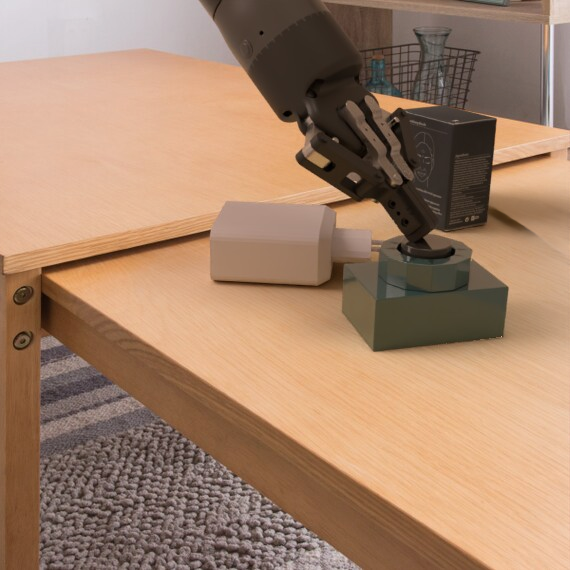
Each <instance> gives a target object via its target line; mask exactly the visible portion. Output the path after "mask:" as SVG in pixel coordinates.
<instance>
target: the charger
mask: <svg viewBox="0 0 570 570" xmlns="http://www.w3.org/2000/svg"><path fill="white" fill-rule="evenodd" d="M385 240H386V239H373V229H367V228H366V229H365V228H347V227H346V228H345V227H344V228H343V227H337V211H336V210H334V209H333V208H331V207H330V206H328V205H327V204H308V203H307V204H306V203H305V204H303V203H283V202H263V201H262V202H261V201H243V200H242V201H241V200H240V201H239V200H236V201H235V200H226V201H225V202H224V204H223V206H222V207H221V209H220V211H219V213H218V215H217V216H216V218H215V220H214V221H213V223H212V225H211V229H210V233H209V276H210V280H212V281H222V282H223V281H224V282H242V283H257V284H258V283H260V284H261V283H262V284H281V285H297V286H298V285H299V286H315V287H318V286H320V285H322V284H324V283H326V282H328V281H330V280H331V277H332V271H333V265H334V263H339V264H352V263H364V262H371V261H372V260H371V259H372V253H373V252H374V253H379V249H380V247H381V245H382V243H383V241H385Z"/></svg>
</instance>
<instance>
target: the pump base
mask: <svg viewBox="0 0 570 570" xmlns="http://www.w3.org/2000/svg"><path fill="white" fill-rule="evenodd" d="M403 237H405V236H404V234H402V235H401V234H400V235H397V236H393V237H391V238H388V239H384V240H385V241H383V243H382V245H380V246H379V247H380V249H379V252H378V260H377V261H370V262H364V263H343V272H342V296H341V298H342V299H341V314H342V315H343V316H344V317H345V319H347V321H348V322H349V324H350V325H351V326H352V327H353V328H354V329H355V331H356V332H357V333H358V335H359V336H360V337H361V338H362V340H363V341H364V342H365V344H366V345H367V346H368V347H369V348H370V350H371V351H372V353H373V352H375V353H376V352H384V351H385V352H386V351H393V350H403V349H411V348H420V347H429V346H430V347H431V346H438V344H439V345H446V343H447V345H448V344H456V343H455V342H458V343H465V342H464V341H467V342H474V341H473V340H476V341H481V340H480V339H485V340H490V339H489V338H494V339H497V338H496V337H501V336H502V337H503V338H504V335H505V334H504V333H505V326H506V317H507V308H508V307H507V306H508V299H509V290H510V287H509V286H508V285H507V284H506V283H504V282H503V281H502V280H501V279H499V278H498V277H497V276H496V275H494V274H493V273H491V272H490V271H489V270H487V268H485V267H484V266H483V265H481V264H480V263H479V262H477V261H476V260H475V259H473V251H474V250H473V249H472V248H471V247H469V246H468V245H466V244H465V243H464V242H462V241H460V240H456V239H453V238H450V237H446V236H444V237H445V238H447V239H449V240H450V241H451V242H452V250H451V257H448V258H445V259H433V260H428V259H418V258H413V257H410V256H406V255H403V254H401V253H400V252H401V240H402V238H403ZM462 341H463V342H462Z"/></svg>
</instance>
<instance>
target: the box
mask: <svg viewBox="0 0 570 570" xmlns="http://www.w3.org/2000/svg"><path fill="white" fill-rule="evenodd" d="M403 109H404V110H405V111H406V112H407V114H408V116H409V120H410V124H411V128H412V132H413V137H414V141H415V145H416V150H417V154H418V158H419V162H420V167H419V168H417V169H416V170H415V171H414V172H413V175H414V178H413V179H412V180H411V181H412V183H413V185H414V186H415V188H416V189H417V190H418V192H419V193H420V195H421V196H422V197H423V199H424V200H425V201H426V203H427V204H428V206H429V207H430V208H431V210H432V211H433V212H434V214H435V215H436V217H437V218H438V220H439V225H438V226H437V227H436V228H435V229H438V230H441V231H443V232H450V231H456V230H457V231H458V230H462V229H468V228H472V227H477V226H481V225H486V224H487V222H488V216H489V205H490V194H491V185H492V184H491V183H492V175H493V172H492V171H493V165H494V155H495V144H496V134H497V122H498V118H497V117H494V116H488V115H485V114H481V113H477V112H473V111H468V110H464V109H461V108H457V107H452V106H448V105H443V104H442V105H431V106H422V107H413V108H403ZM402 158H403V156H402Z"/></svg>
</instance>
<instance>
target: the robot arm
mask: <svg viewBox="0 0 570 570" xmlns="http://www.w3.org/2000/svg"><path fill="white" fill-rule="evenodd" d="M198 2H199V3H200V4H201V6H202V7H203V9H204V10H205V11H206V13H207V14H208V15H209V17H210V18H211V20H212V21H213V22H214V24H215V26H216V27H217V29H218V31H219V32H220V34H221V36H222V38H223V40H224V42H225V44H226V46H227V47H228V49H229V51H230V52H231V54H232V55H233V56H234V58H235V59H236V60H237V62H238V64H239V65H240V66H241V68H242V69H243V70H244V72H245V73H246V75H247V76H248V78H249V79H250V80H251V82H252V83H253V84H254V86H255V87H256V88H257V90H258V92H259V93H260V95H261V96H262V97H263V99H264V100H265V101H266V103H267V104H268V105H269V107H270V108H271V110H272V111H273V112H274V114H275V115H276V117H277V118H278V119H279V120H280V121H281V122H283V123H285V124H286V123H287V124H293V123H296V124H297V128H298V130H299V132H300V133H301V134H302V135H303V136H304V145H303V146H302V147H301V149H300V150H299V151H298V152H296V154H295V156H294V158H295V161H296V163H297V164H298V165H300V166H301V167H302V168H303V169H305V170H307V171H308V172H310V173H311V174H313V175H314V176H316V177H318V178H319V179H321V180H322V181H324V182H326V183H327V184H329V185H330V186H331V187H332V188H333V187H334V188H335V189H336V190H338V191H339V192H341V193H343V194H344V195H346V196H348V198H350V199H352V200H354V201H355V202H358V203H361V202H362V201H364V200H365V199H369V200H370V201H371V202H373V203H374V204H377V205H379V204H380V205H381V206H382V207H383V209H384V210H385V212H386V213H387V214H388V216H389V217H390V218H391V220H392V221H393V223H394V224H395V226H396V227H397V228H398V230H399V231H400V232H401V233H402V235H404V236H405V237H406V238H407V240H408V241H409V242H416V241H418V240H419V239H421V238H423V237H425V236H426V235H427V234H431V232H432V231H434V230H435V229H437V228H436V227H437V226H438V225H439V220H438V218H437V217H436V215H435V214H434V212H433V211H432V210H431V208H430V207H429V206H428V204H427V203H426V201H425V200H424V199H423V197H422V196H421V195H420V193H419V192H418V190H417V189H416V188H415V186H414V185H413V183H412V181H411V180H412V179H413V178H414V175H413V172H414V171H415V170H416V169H417V168H419V167H420V162H419V158H418V154H417V150H416V145H415V141H414V137H413V132H412V128H411V124H410V120H409V116H408V114H407V112H406V111H405V110H404V109H405V108H402V107H399V106H398V107H397V108H396V109H395V110H393V111H392V112H390V111H388V110H386V109H383V108H381V107H380V103H379V101H378V99H377V98H376V96H375V95H374V94H373V93H372V92H371V91H369V90H368V89H367V88H366V87H365V86H364V85H363V84H362V83H361V82H360V81H361V80H360V75H361V72H362V71H363V68H364V63H365V62H364V61H365V60H364V57H363V54H362V53H361V52H360V50H359V49H358V48H357V46H356V44H354V42H353V41H352V40H351V38H350V37H349V35H348V34H347V33H346V32H345V30H344V28H343V27H342V26H341V24H340V23H339V22H338V20H337V19H336V18H335V16H334V15H333V14H332V12H331V11H330V9H329V8H328V7H327V6H326V4H325V3H324V1H323V0H198ZM402 156H403V158H402Z"/></svg>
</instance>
